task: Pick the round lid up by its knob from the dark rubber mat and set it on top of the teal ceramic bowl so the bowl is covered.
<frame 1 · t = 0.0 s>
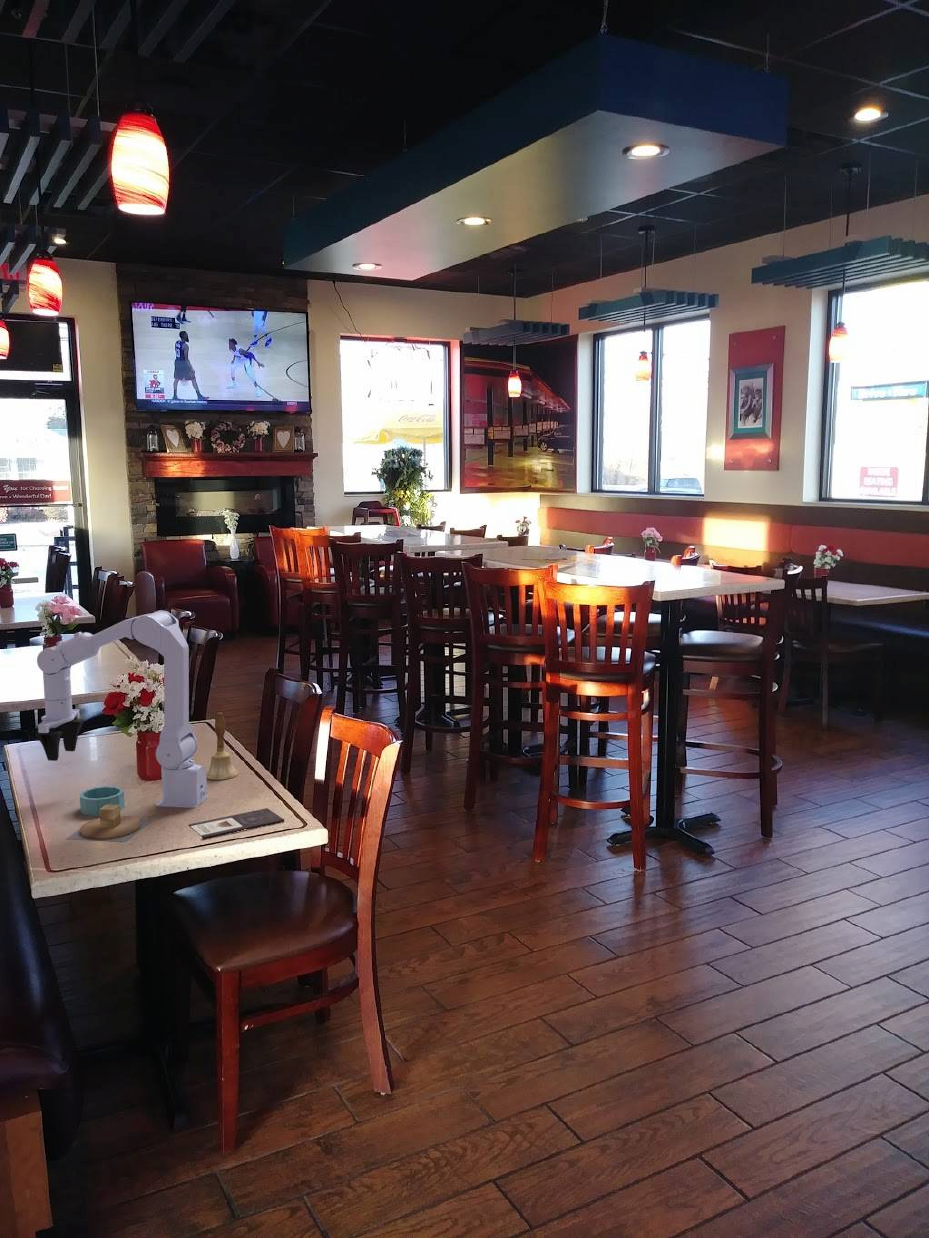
hand: (61, 755, 226), 10 cm above the table, tool pointing down, fingers open, 7 cm apart
lid: (110, 828, 206), resting on mat
hand bell: (221, 776, 244), on the table
chocolate bar: (236, 827, 210), on the table
mat: (111, 830, 206), on the table
bowl: (102, 809, 219), on the table
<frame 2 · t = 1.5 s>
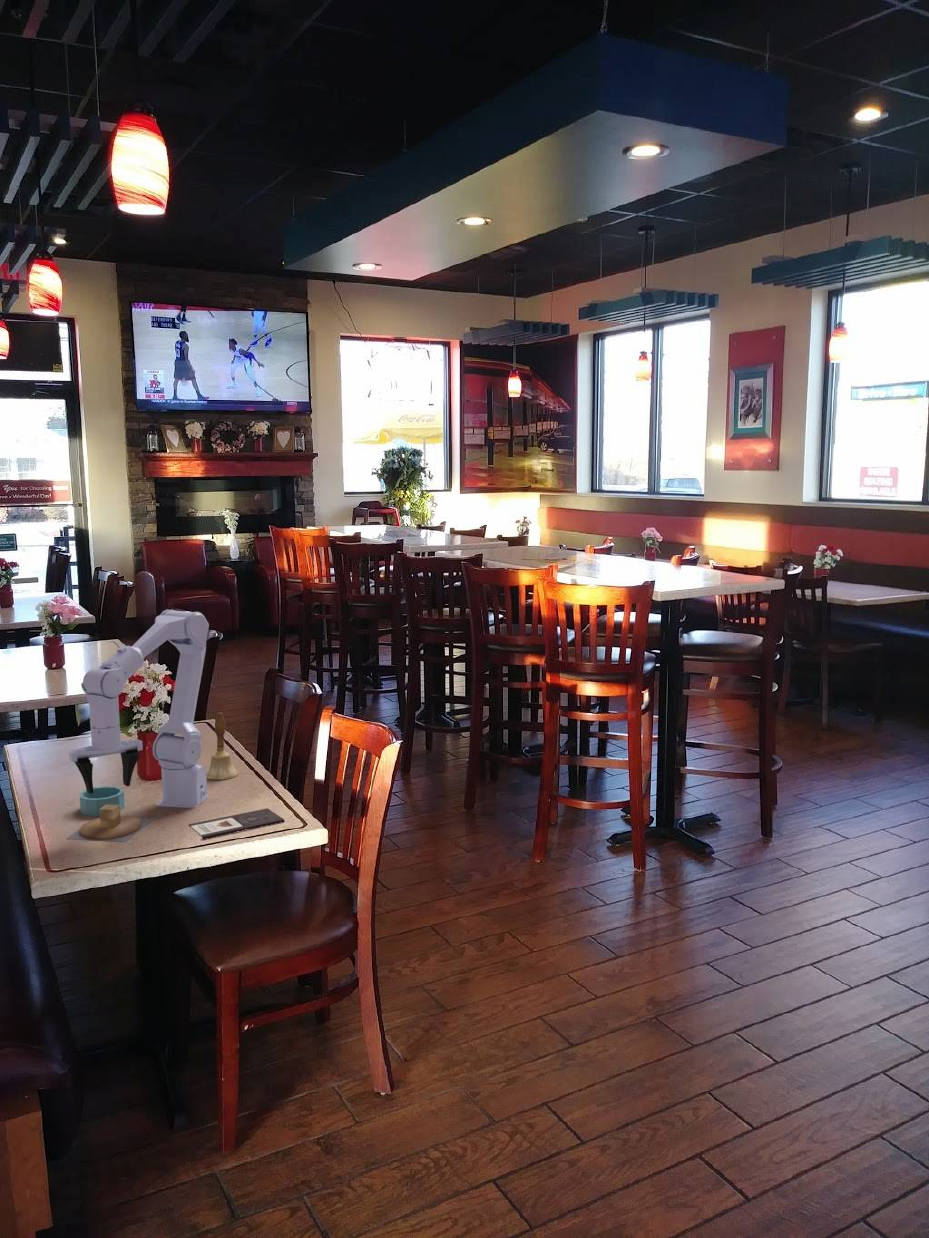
hand: (108, 788, 205), 9 cm above the table, tool pointing down, fingers open, 7 cm apart
nothing on the table moved.
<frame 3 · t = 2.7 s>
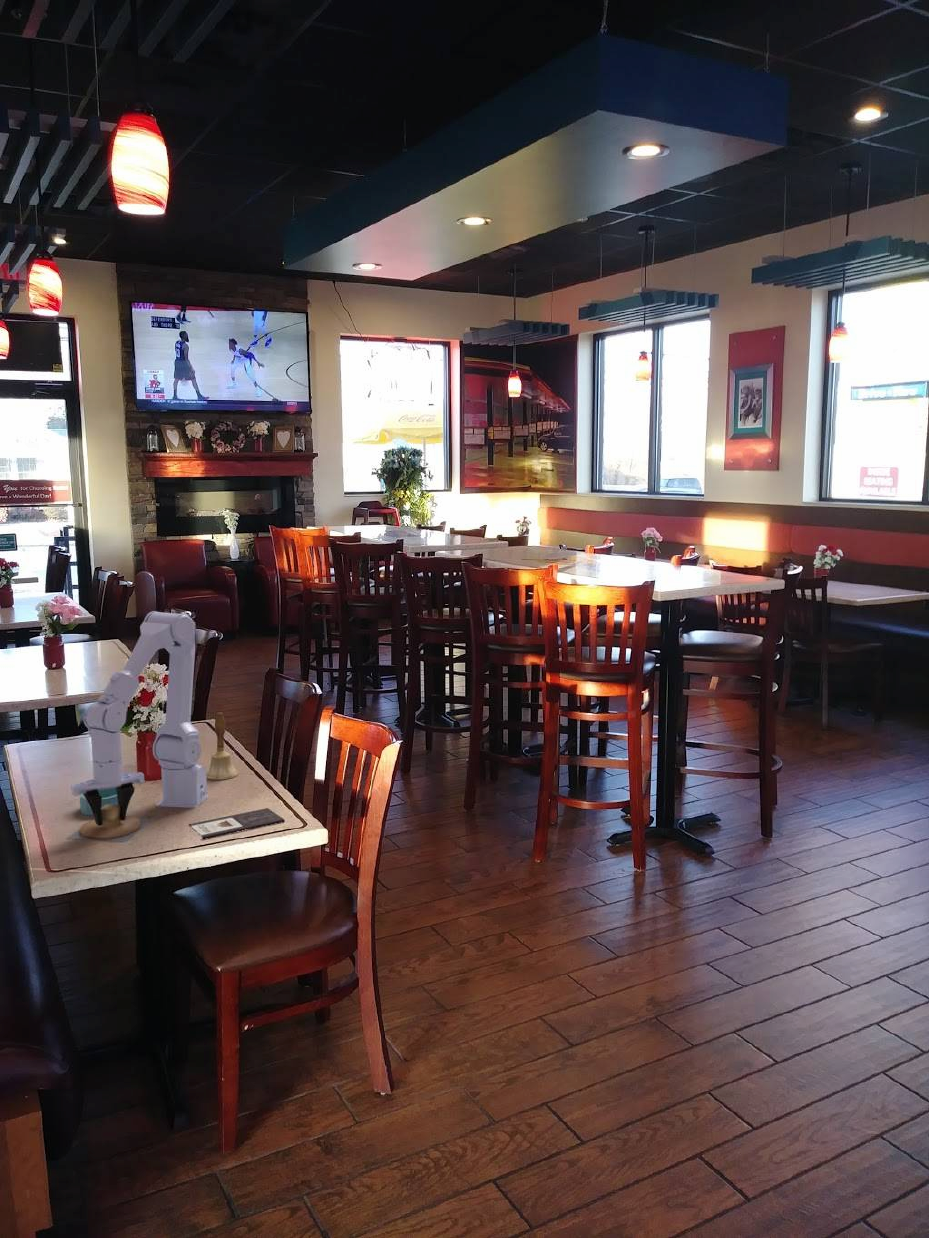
hand: (110, 821, 206), 2 cm above the table, tool pointing down, fingers closed on lid, 4 cm apart
lid: (110, 828, 206), resting on mat, touching gripper
everything else where it was.
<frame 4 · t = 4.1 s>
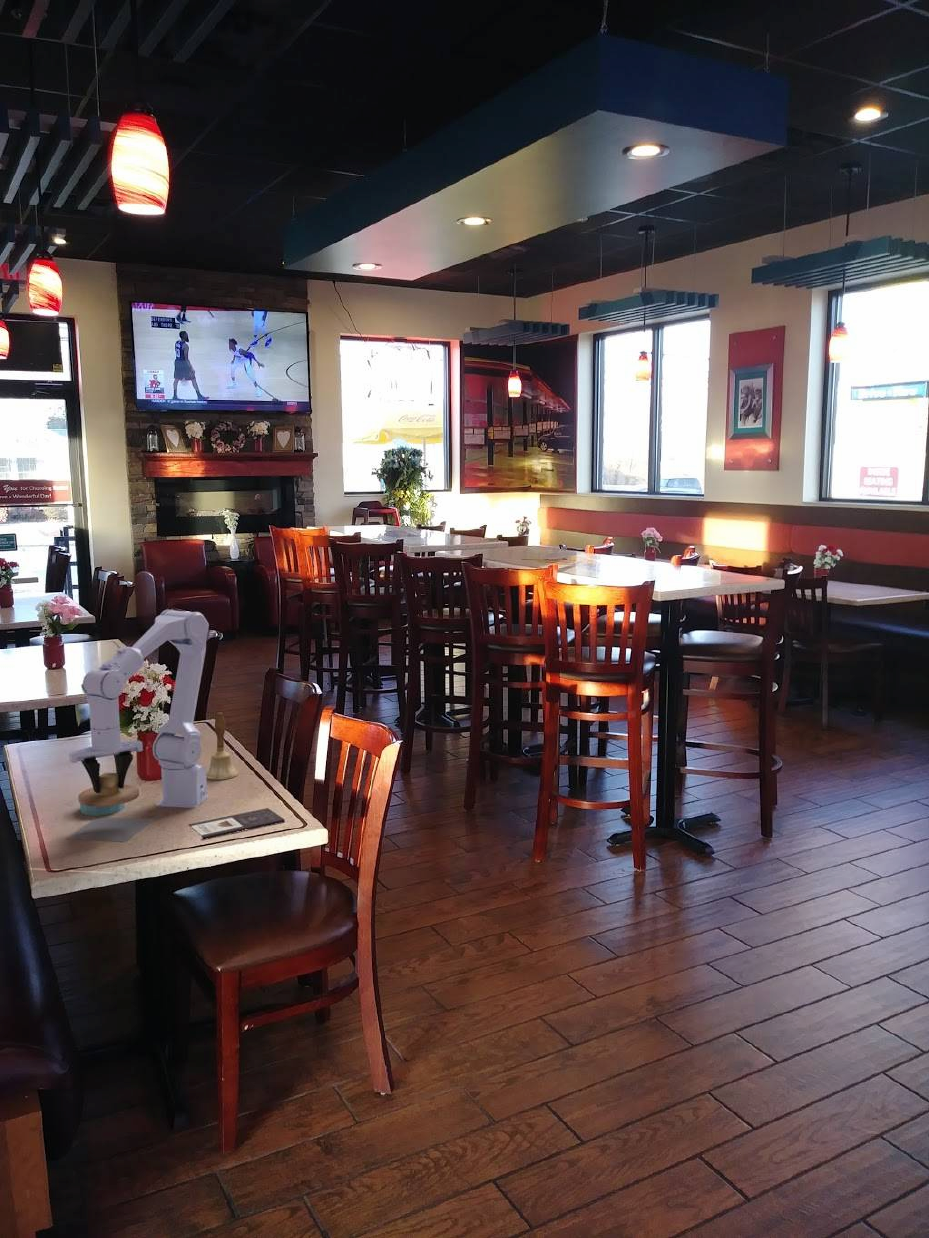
hand: (108, 789, 205), 9 cm above the table, tool pointing down, fingers closed on lid, 4 cm apart
lid: (109, 796, 205), point 7 cm above the table, touching gripper
everything else where it was.
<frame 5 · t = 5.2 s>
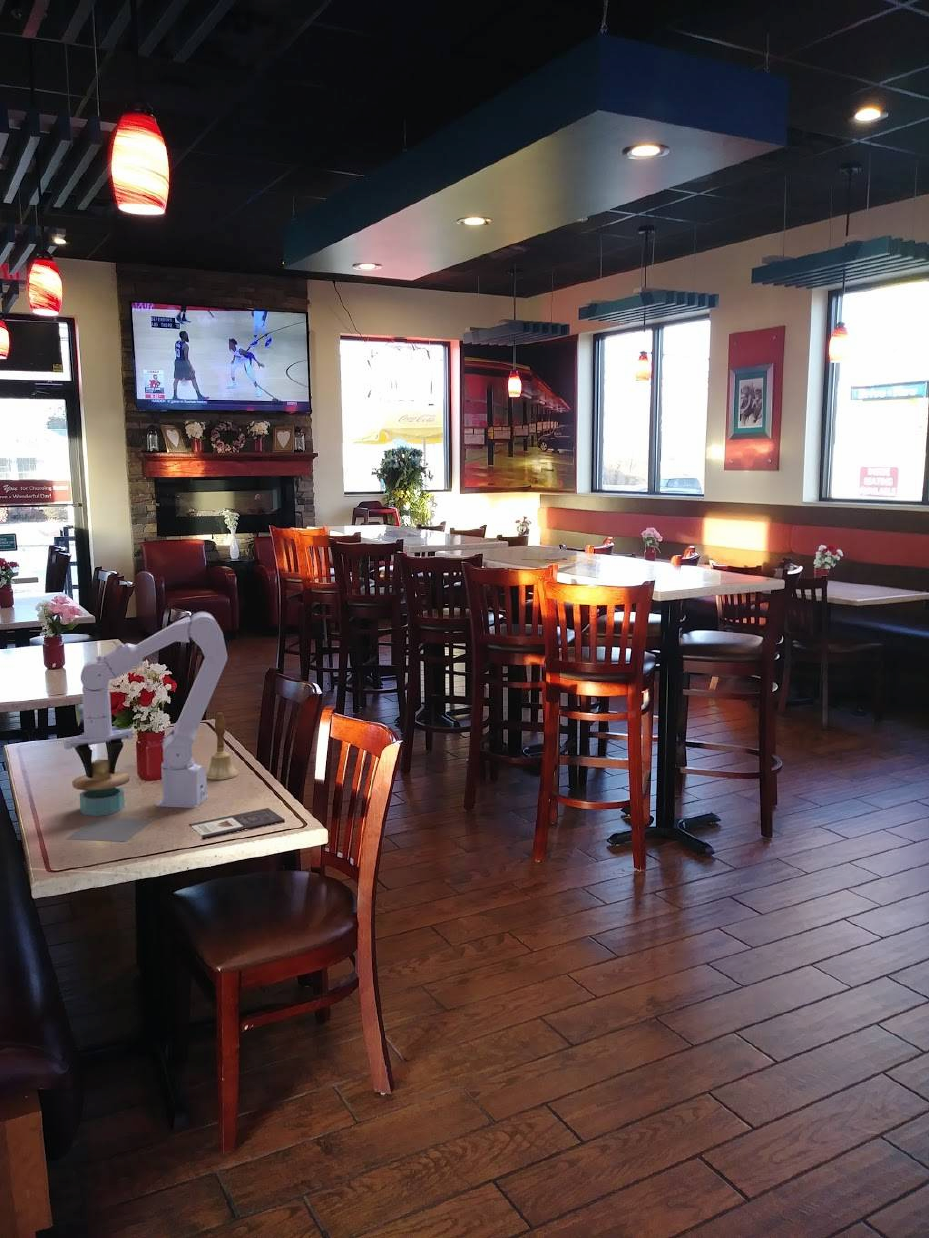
hand: (100, 774, 218), 8 cm above the table, tool pointing down, fingers closed on lid, 4 cm apart
lid: (101, 782, 218), point 6 cm above the table, touching gripper
everything else where it was.
when the fingers open (7 cm above the table, at t = 5.8 s): lid drops 1 cm, resting on bowl.
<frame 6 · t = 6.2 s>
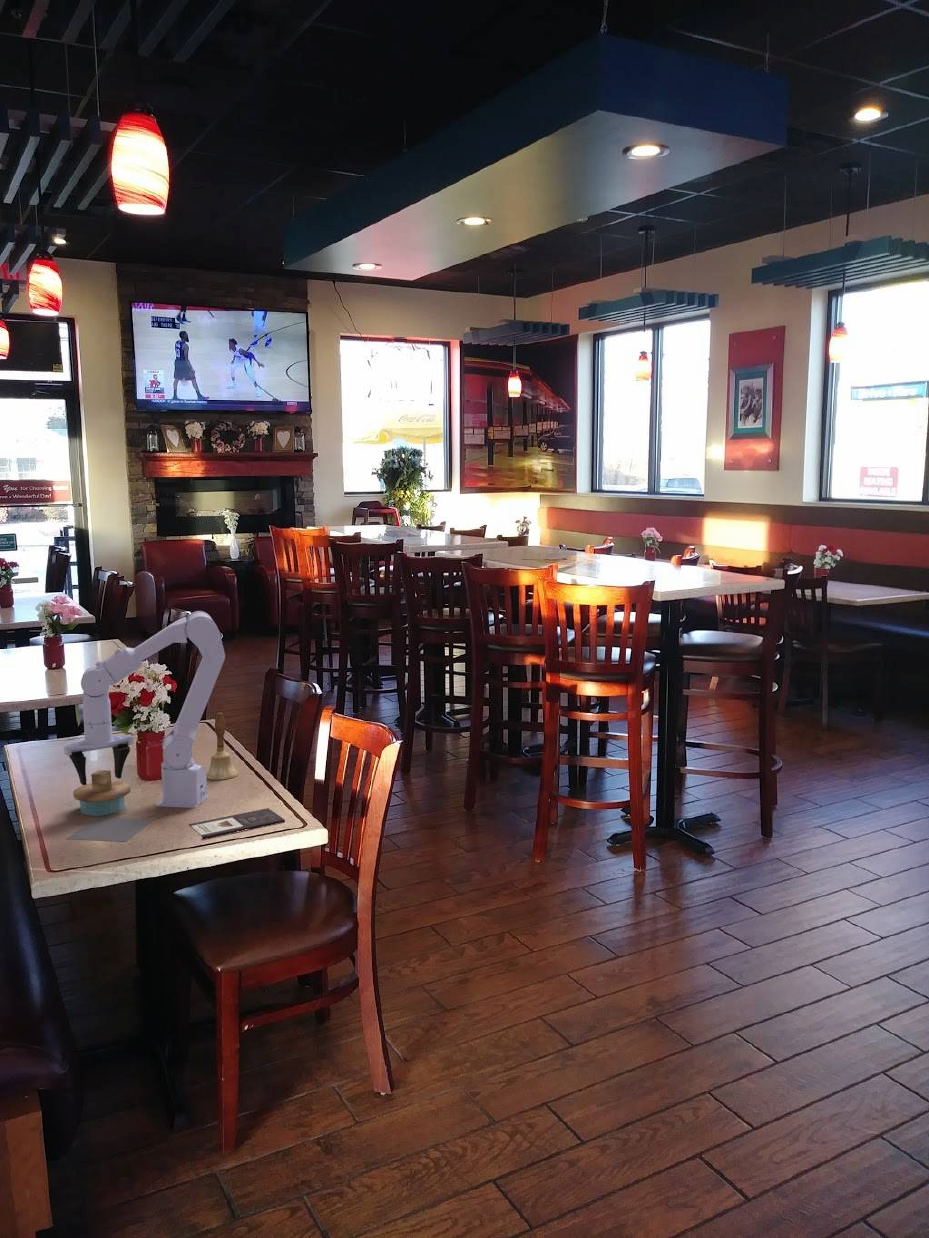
hand: (101, 780, 218), 7 cm above the table, tool pointing down, fingers open, 7 cm apart
lid: (102, 793, 218), point 4 cm above the table, touching bowl
everything else where it was.
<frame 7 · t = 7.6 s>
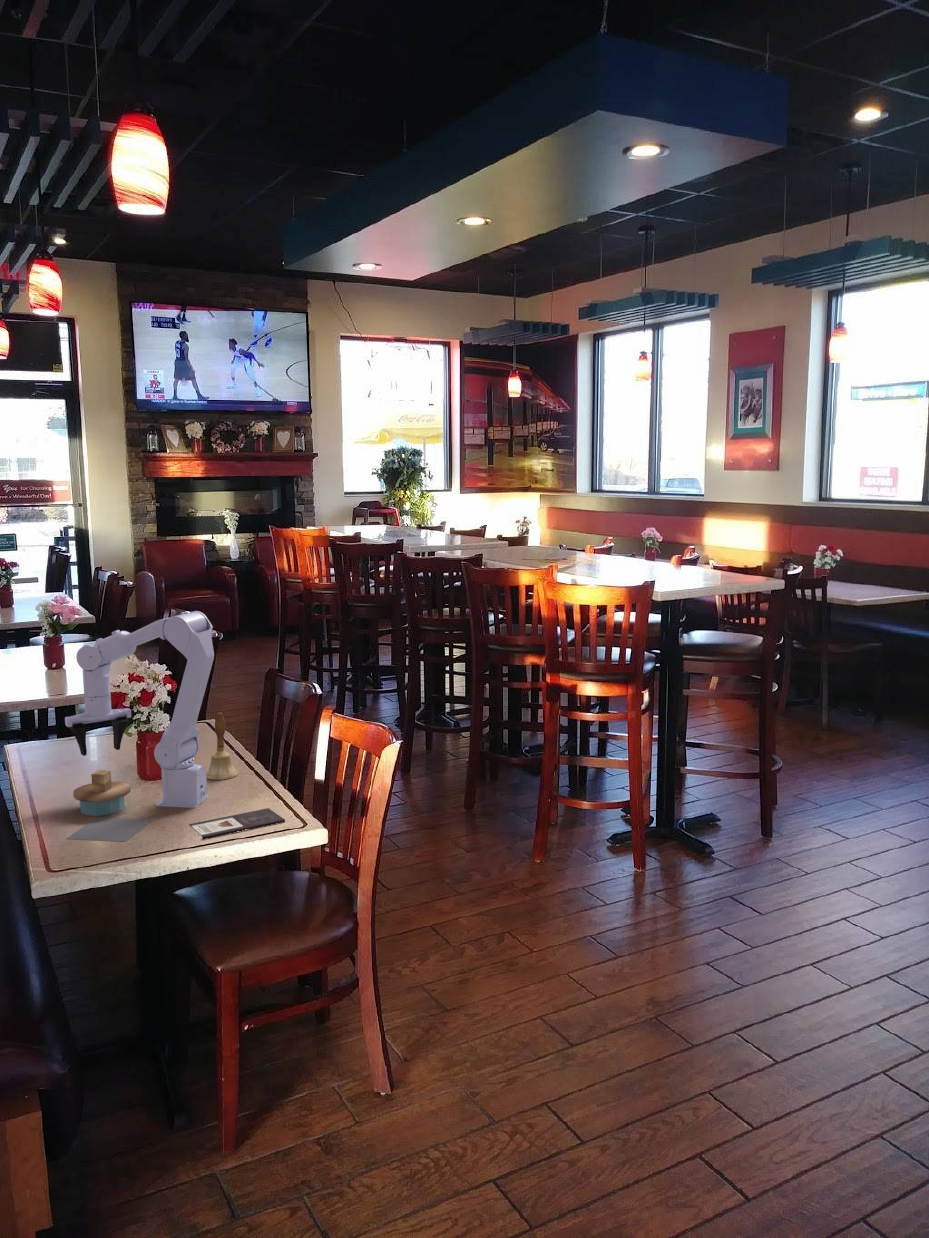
hand: (100, 751, 228), 10 cm above the table, tool pointing down, fingers open, 7 cm apart
nothing on the table moved.
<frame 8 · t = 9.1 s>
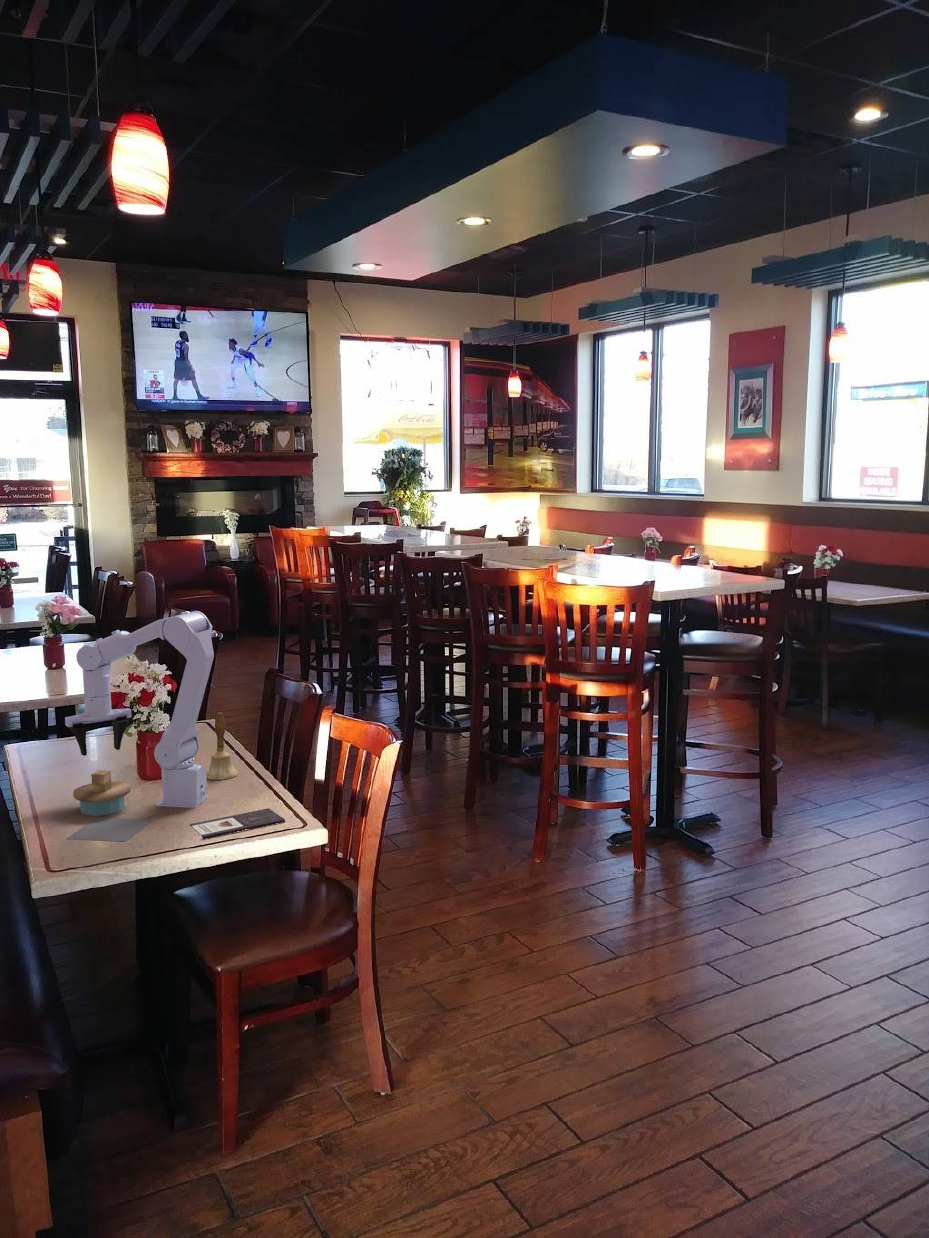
hand: (100, 751, 228), 10 cm above the table, tool pointing down, fingers open, 7 cm apart
nothing on the table moved.
at the end: lid 0.3 cm off-centre on the bowl, point 4.0 cm above the bowl's base; lid tilted 0°; the gripper is holding nothing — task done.
